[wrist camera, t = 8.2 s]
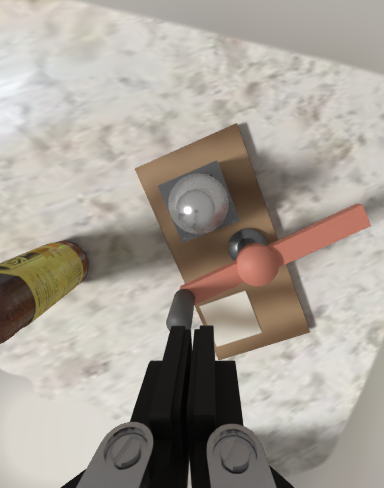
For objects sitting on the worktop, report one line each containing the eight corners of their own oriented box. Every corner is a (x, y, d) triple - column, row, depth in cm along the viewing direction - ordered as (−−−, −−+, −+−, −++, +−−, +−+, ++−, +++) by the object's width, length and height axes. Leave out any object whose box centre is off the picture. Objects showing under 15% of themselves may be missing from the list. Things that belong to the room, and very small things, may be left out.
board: (307, 327, 34) (310, 332, 32) (218, 355, 35) (218, 360, 34) (235, 125, 29) (236, 122, 28) (137, 169, 30) (134, 168, 29)
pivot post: (271, 257, 31) (283, 272, 26) (235, 270, 31) (240, 287, 26) (258, 222, 30) (268, 231, 25) (222, 236, 31) (224, 247, 26)
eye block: (236, 215, 30) (239, 220, 26) (185, 235, 31) (182, 243, 27) (216, 162, 29) (217, 160, 25) (164, 185, 30) (157, 185, 26)
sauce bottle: (67, 229, 33) (-139, 298, 14) (100, 267, 34) (-47, 383, 14) (32, 259, 34) (-202, 362, 15) (65, 295, 35) (-114, 437, 16)
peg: (232, 214, 30) (243, 230, 20) (187, 232, 31) (176, 255, 21) (214, 166, 29) (216, 159, 19) (168, 186, 30) (147, 189, 20)
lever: (185, 312, 27) (178, 346, 21) (168, 282, 26) (156, 309, 21) (365, 231, 24) (413, 246, 18) (351, 195, 23) (396, 200, 18)
